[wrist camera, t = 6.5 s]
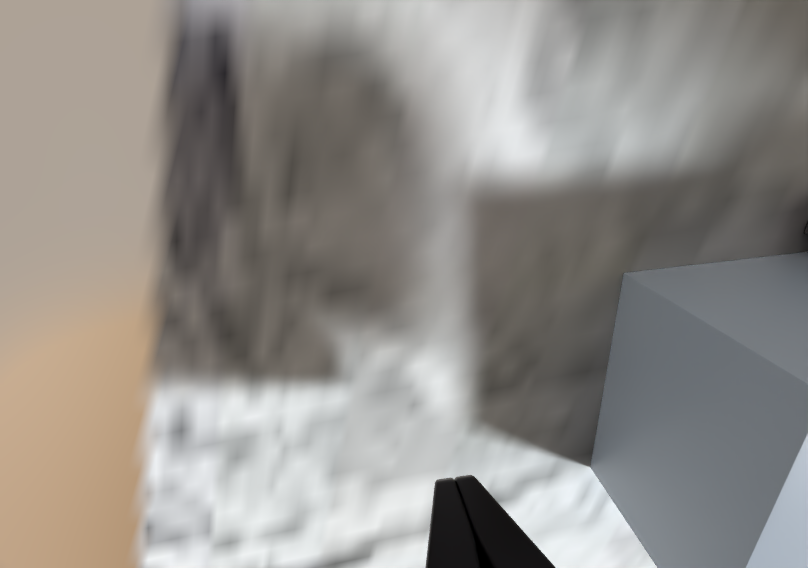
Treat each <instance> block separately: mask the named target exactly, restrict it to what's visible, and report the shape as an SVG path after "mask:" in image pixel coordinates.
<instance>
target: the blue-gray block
mask: <svg viewBox="0 0 808 568" xmlns="http://www.w3.org/2000/svg"><path fill="white" fill-rule="evenodd" d="M590 467H591V469H592V470H593V472H594V473H595V475H596V476H597V478H598V479H599V481H600V482H601V484H602V485H603V487H604V488H605V490H606V491H607V493H608V494H609V496H610V497H611V499H612V500H613V502H614V503H615V505H616V506H617V508H618V509H619V511H620V512H621V514H622V515H623V517H624V518H625V520H626V521H627V523H628V524H629V526H630V527H631V529H632V530H633V532H634V533H635V535H636V536H637V538H638V539H639V541H640V542H641V544H642V545H643V547H644V548H645V550H646V551H647V553H648V554H649V556H650V557H651V559H652V560H653V562H654V563H655V565H656V566H657V568H808V252H800V253H792V254H783V255H775V256H766V257H757V258H749V259H740V260H731V261H723V262H714V263H705V264H697V265H688V266H679V267H671V268H662V269H653V270H645V271H636V272H627V273H624V274H623V280H622V286H621V292H620V298H619V303H618V309H617V315H616V321H615V327H614V332H613V338H612V344H611V350H610V356H609V361H608V367H607V373H606V379H605V385H604V390H603V396H602V402H601V408H600V414H599V419H598V425H597V431H596V437H595V443H594V448H593V454H592V460H591V466H590Z"/></svg>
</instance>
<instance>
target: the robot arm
mask: <svg viewBox="0 0 808 568" xmlns="http://www.w3.org/2000/svg"><path fill="white" fill-rule="evenodd" d="M426 568H555V566H554V565H553V564H552V563H551V562H550V561H549V560H548V559H547V557H546V556H545V555H544V554H543V553H542V552H541V551H540V550H539V548H538V547H537V546H536V545H535V544H534V543H533V542H532V541H531V539H530V538H529V537H528V536H527V535H526V534H525V533H524V532H523V530H522V529H521V528H520V527H519V526H518V525H517V524H516V523H515V521H514V520H513V519H512V518H511V517H510V516H509V515H508V514H507V513H506V511H505V510H504V509H503V508H502V507H501V506H500V505H499V504H498V502H497V501H496V500H495V499H494V498H493V497H492V496H491V495H490V493H489V492H488V491H487V490H486V489H485V488H484V487H483V486H482V484H481V483H480V482H479V481H478V480H477V479H476V478H475V477H474V476H472V475H466V476H460V477H456V478H455V480H454V479H453V478H446V479H439V480H436V482H435V488H434V497H433V506H432V515H431V524H430V533H429V542H428V551H427V560H426Z"/></svg>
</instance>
